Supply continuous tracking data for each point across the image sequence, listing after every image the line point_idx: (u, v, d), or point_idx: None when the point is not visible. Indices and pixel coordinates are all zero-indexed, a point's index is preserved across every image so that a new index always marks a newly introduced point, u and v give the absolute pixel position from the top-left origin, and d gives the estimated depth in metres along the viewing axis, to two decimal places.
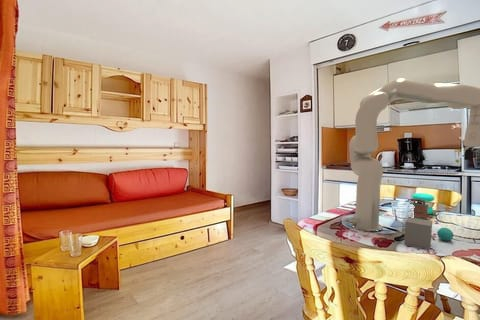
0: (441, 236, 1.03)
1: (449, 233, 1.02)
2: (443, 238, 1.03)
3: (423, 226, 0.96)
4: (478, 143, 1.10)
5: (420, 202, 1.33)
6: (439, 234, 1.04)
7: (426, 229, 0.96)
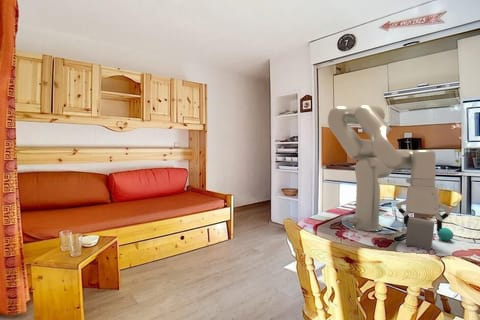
0: (441, 236, 1.03)
1: (449, 233, 1.02)
2: (443, 238, 1.03)
3: (425, 226, 0.96)
4: (432, 211, 0.95)
5: None
6: (439, 234, 1.04)
7: (428, 229, 0.95)
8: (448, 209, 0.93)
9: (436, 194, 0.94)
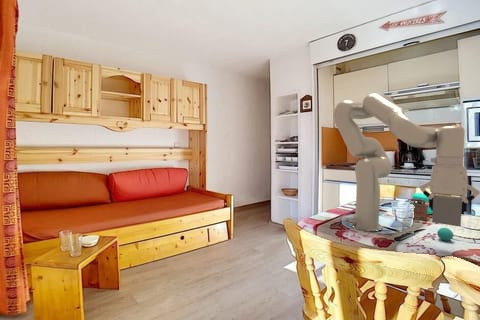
0: (441, 236, 1.03)
1: (449, 233, 1.02)
2: (443, 238, 1.03)
3: (454, 201, 0.89)
4: (460, 191, 0.88)
5: (420, 202, 1.33)
6: (439, 234, 1.04)
7: (457, 204, 0.88)
8: (476, 191, 0.87)
9: (465, 173, 0.88)
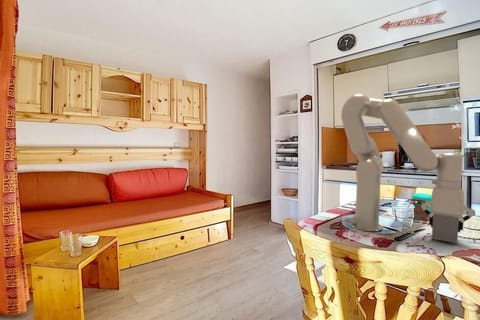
0: None
1: None
2: None
3: (451, 220, 0.99)
4: (457, 212, 0.99)
5: (420, 202, 1.33)
6: None
7: (454, 223, 0.99)
8: (471, 212, 0.98)
9: (462, 196, 0.98)
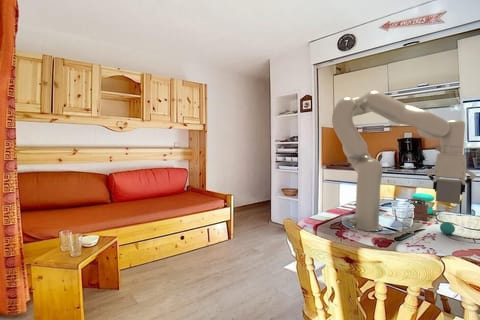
0: None
1: None
2: None
3: (454, 183, 1.06)
4: (459, 175, 1.06)
5: (420, 202, 1.33)
6: None
7: (456, 185, 1.06)
8: (473, 174, 1.05)
9: (464, 160, 1.05)
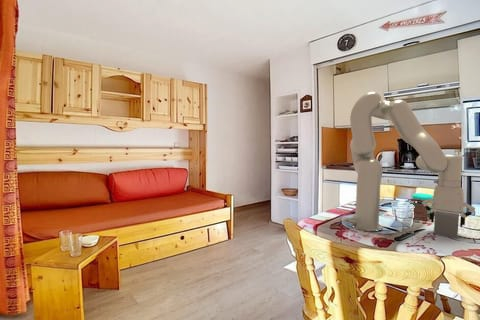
0: None
1: None
2: None
3: (452, 217, 1.07)
4: (457, 209, 1.07)
5: (420, 202, 1.33)
6: None
7: (454, 220, 1.07)
8: (471, 208, 1.06)
9: (461, 194, 1.06)
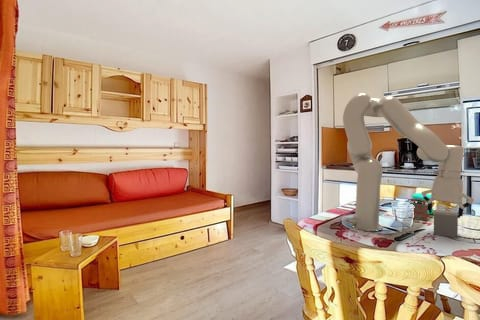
0: None
1: None
2: None
3: (451, 217, 1.07)
4: (456, 200, 1.07)
5: (420, 202, 1.33)
6: None
7: (453, 219, 1.07)
8: (470, 199, 1.05)
9: (461, 185, 1.06)
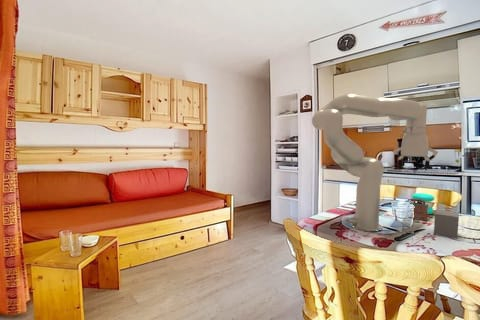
0: None
1: None
2: None
3: (452, 217, 1.07)
4: (422, 153, 1.17)
5: (420, 202, 1.33)
6: None
7: (454, 220, 1.07)
8: (435, 151, 1.16)
9: (426, 139, 1.16)
